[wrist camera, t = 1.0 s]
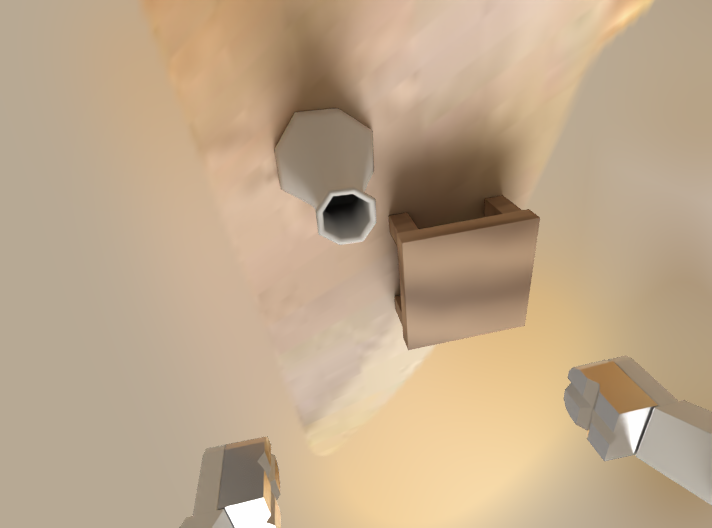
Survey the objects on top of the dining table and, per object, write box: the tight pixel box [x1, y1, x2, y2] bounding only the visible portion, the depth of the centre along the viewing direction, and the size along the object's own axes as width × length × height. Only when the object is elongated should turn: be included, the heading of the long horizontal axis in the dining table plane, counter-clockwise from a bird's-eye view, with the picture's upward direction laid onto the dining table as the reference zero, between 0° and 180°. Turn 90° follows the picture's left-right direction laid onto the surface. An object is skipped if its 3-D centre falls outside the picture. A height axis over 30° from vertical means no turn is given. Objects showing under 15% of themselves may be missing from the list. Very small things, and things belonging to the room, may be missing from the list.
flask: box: [274, 108, 376, 245], centre depth 25 cm, size 7×7×10 cm
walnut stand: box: [389, 195, 540, 350], centre depth 33 cm, size 10×10×5 cm
